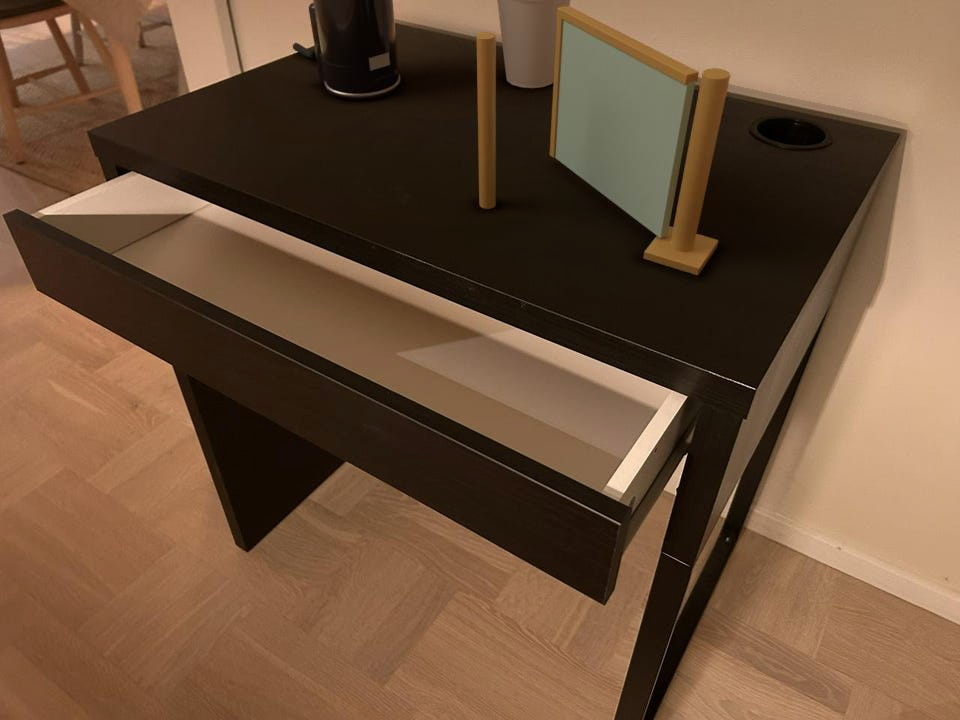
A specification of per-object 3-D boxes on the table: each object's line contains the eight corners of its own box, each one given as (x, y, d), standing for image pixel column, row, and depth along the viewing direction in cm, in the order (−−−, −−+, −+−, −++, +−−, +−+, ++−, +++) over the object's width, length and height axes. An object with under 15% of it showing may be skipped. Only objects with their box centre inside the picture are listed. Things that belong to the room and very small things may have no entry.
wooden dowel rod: (498, 203, 73) (499, 34, 62) (490, 210, 72) (489, 40, 61) (484, 198, 73) (482, 30, 63) (476, 206, 72) (472, 36, 62)
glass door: (669, 235, 66) (699, 71, 57) (658, 239, 66) (687, 74, 56) (559, 152, 78) (568, 5, 68) (549, 155, 78) (557, 7, 68)
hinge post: (717, 247, 67) (759, 68, 56) (697, 276, 64) (739, 92, 53) (664, 231, 69) (695, 56, 58) (642, 259, 66) (672, 78, 55)
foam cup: (532, 58, 100) (536, -50, 91) (583, 78, 95) (592, -34, 86) (478, 77, 96) (477, -34, 87) (528, 99, 90) (532, -16, 82)
